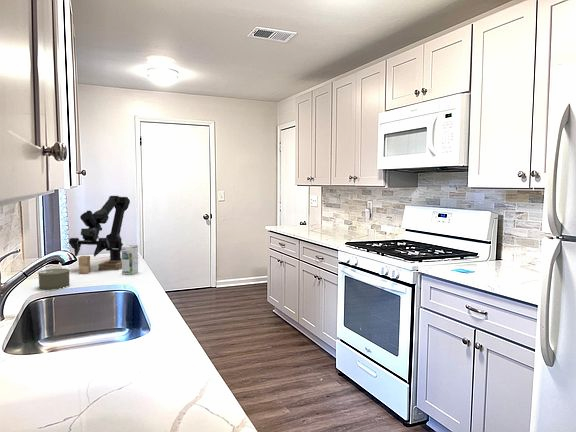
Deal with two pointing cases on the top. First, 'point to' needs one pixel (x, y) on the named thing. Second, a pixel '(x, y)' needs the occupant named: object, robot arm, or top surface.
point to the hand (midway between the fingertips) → (84, 256)
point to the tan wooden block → (84, 264)
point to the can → (53, 279)
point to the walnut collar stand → (110, 265)
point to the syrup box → (129, 259)
